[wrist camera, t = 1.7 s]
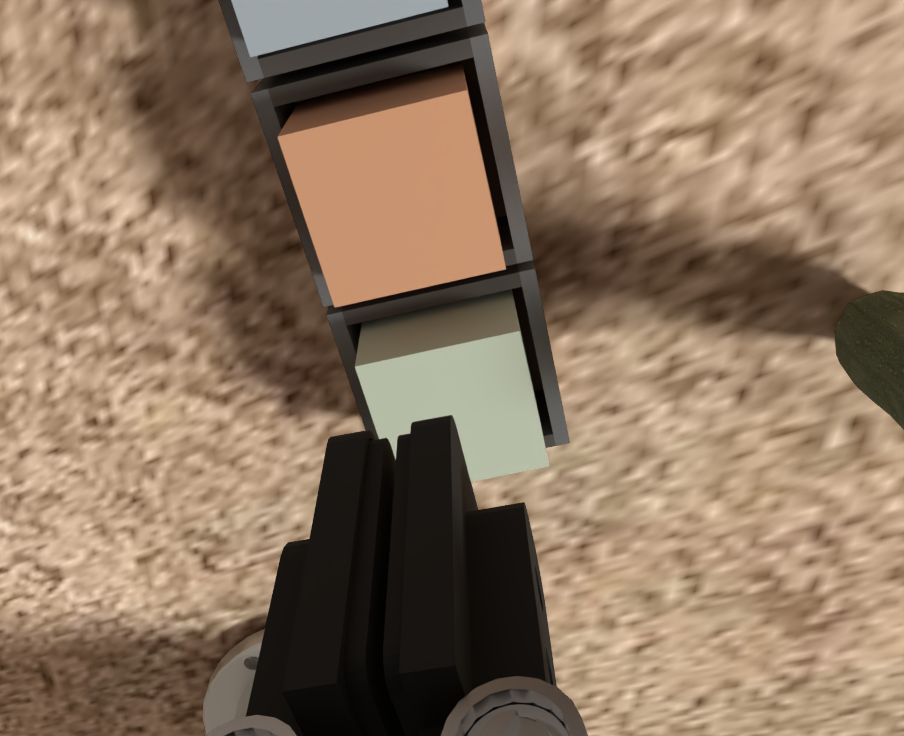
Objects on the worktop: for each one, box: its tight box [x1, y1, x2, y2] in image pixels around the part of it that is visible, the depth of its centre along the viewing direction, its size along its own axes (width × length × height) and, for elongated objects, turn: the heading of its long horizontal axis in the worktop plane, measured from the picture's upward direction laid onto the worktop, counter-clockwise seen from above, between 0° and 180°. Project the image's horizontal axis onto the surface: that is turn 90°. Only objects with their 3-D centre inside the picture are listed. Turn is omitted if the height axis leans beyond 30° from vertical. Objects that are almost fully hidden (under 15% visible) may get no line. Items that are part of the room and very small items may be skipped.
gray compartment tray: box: [219, 0, 570, 448], centre depth 26 cm, size 24×7×4 cm, turn 13°
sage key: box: [355, 289, 549, 482], centre depth 28 cm, size 5×5×4 cm
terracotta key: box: [277, 62, 506, 307], centre depth 25 cm, size 5×5×4 cm
